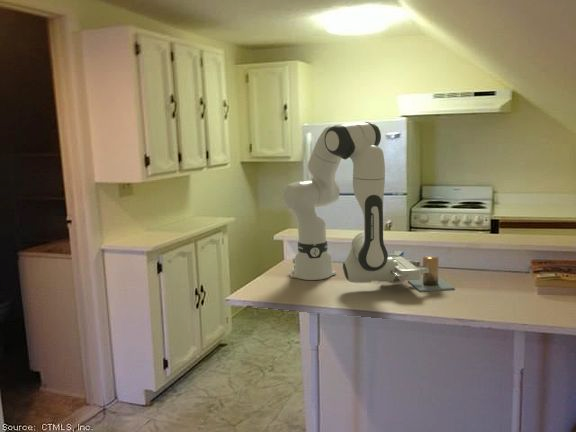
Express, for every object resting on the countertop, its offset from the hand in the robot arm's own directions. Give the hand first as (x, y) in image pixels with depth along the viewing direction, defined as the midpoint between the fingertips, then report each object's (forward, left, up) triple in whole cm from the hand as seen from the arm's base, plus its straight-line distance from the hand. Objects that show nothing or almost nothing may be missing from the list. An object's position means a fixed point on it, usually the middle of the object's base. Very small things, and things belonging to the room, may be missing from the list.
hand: (423, 266), depth 193 cm
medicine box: (-18, -5, -7) cm, 20 cm away
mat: (0, +3, -7) cm, 8 cm away
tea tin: (0, +3, -7) cm, 7 cm away
